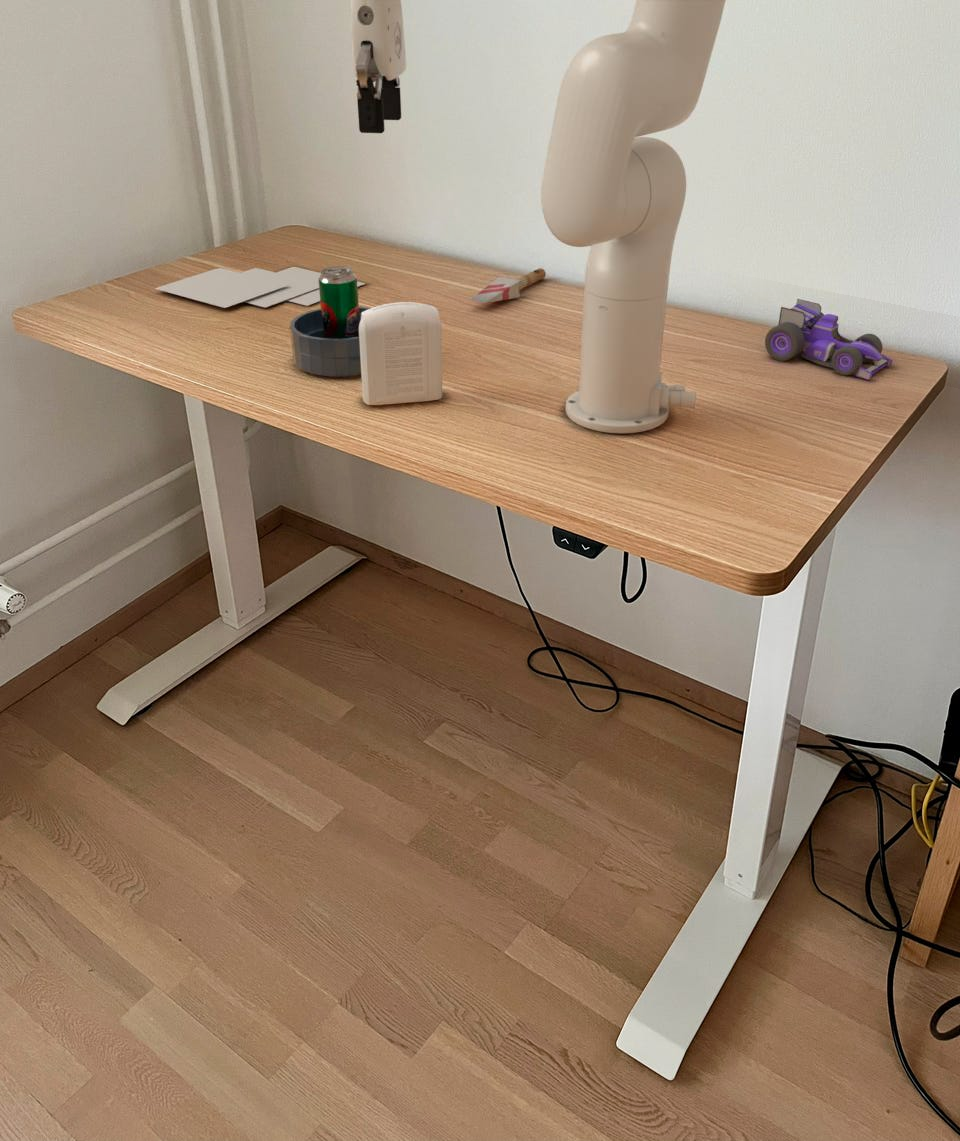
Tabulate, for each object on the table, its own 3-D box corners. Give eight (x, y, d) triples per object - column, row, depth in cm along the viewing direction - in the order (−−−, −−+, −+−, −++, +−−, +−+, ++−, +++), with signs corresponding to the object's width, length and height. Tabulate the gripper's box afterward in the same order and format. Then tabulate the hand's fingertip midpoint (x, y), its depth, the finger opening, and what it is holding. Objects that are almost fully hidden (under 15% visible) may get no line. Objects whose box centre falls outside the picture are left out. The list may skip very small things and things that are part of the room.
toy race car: (864, 384, 133) (875, 336, 129) (761, 356, 142) (769, 310, 138) (895, 364, 139) (906, 317, 135) (795, 338, 147) (802, 294, 144)
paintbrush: (466, 289, 157) (532, 263, 171) (466, 307, 158) (531, 280, 173) (487, 293, 155) (552, 267, 170) (487, 311, 157) (551, 283, 171)
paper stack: (259, 258, 182) (259, 254, 181) (365, 283, 169) (365, 279, 169) (154, 292, 166) (154, 288, 166) (263, 322, 154) (262, 318, 153)
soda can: (355, 365, 138) (349, 277, 131) (320, 362, 139) (312, 275, 132) (366, 352, 142) (361, 266, 136) (332, 349, 143) (324, 264, 136)
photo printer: (439, 388, 132) (437, 294, 126) (446, 401, 129) (444, 305, 122) (360, 396, 130) (354, 301, 124) (365, 409, 127) (358, 312, 120)
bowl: (402, 346, 146) (401, 308, 143) (380, 382, 134) (377, 342, 131) (311, 341, 147) (307, 303, 144) (281, 376, 136) (276, 337, 133)
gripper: (386, -20, 118) (393, 138, 127) (417, -28, 132) (422, 115, 141) (323, -20, 119) (335, 137, 128) (361, -28, 133) (369, 114, 142)
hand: (381, 125), depth 135 cm, fingers open, 9 cm apart
